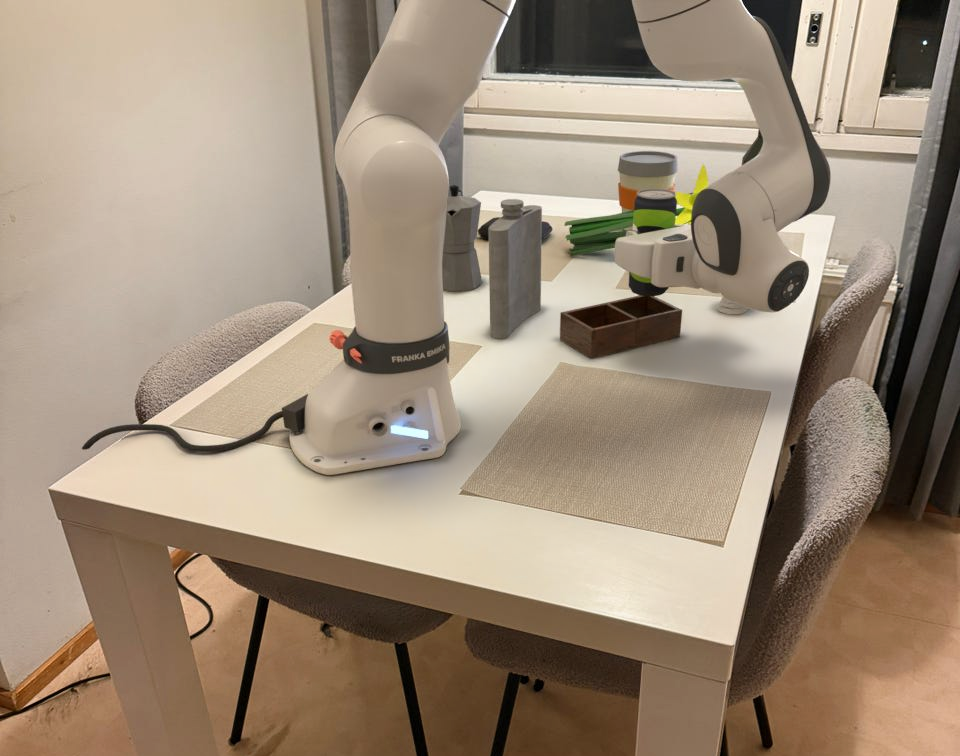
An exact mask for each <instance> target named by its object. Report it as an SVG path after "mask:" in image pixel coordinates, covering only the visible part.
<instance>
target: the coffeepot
mask: <svg viewBox="0 0 960 756" xmlns="http://www.w3.org/2000/svg"><path fill="white" fill-rule="evenodd" d="M449 191H450V195H448V198H447V210H446V225H445V236H444V245H443V256H442V281H443V292H444V291H445V292H453V293H456V292H457V293H461V292H467V291H472V290H474V289H477V288H479V287H480V286H481V284H483V279H482V274H481V268H480V263H479V258H478V252H477V250H476V247H475V241H476V240H477V239H478V229H479V223H480V217H481V216H480V215H481V208H482V207H481V206H482V202H481V201H480V200H478V198H476V197H471V196H464V195H463V192H462V190H460V186H459V185H455V184H452V185H451V186H450V185H449Z"/></svg>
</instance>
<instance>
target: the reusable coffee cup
mask: <svg viewBox="0 0 960 756" xmlns="http://www.w3.org/2000/svg"><path fill="white" fill-rule="evenodd" d="M678 162H679V161H678V156H677V155H676V154H675V153H670V152H665V151H656V150H640V151H639V150H638V151H629V152H625V153H622V154H620V156H619V160H618V165H617V166H618V167H617V172H619V173H618V174H619V182H618V184H617V187H618V202H619V207H621V213H623V212H627V211H631V210H634V201H635V199H636V197H637V192H638V191H639V190H642V189H650V188H659V189H668V190H672V191H674V192H675V188H676V184H675V178H676V174H677V173H678V170H679V169H678V167H679V166H678ZM632 229H633V226H632V227H628V228H624V229H623V231H626V230H632Z"/></svg>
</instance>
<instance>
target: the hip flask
mask: <svg viewBox="0 0 960 756" xmlns="http://www.w3.org/2000/svg"><path fill="white" fill-rule="evenodd" d="M500 208H501V215H502V216H500V217H501V218H499V219H498V220H496V221H495V222H494V223H493V224H492V225H491V226H490V227H489V228H488V234H489V239H488V284H489V285H488V286H489V288H488V289H489V336H490V337H491V338H492V339H495V340H504V339H508V338H509V337H510V336H511V334H512V333H513V332H514V331H515V329H516V328H517V327H518V326H520V325H521V323H523V322H524V321H525V320H527V319H529V318H531V316H533V315H535V314H536V313H539V312H540V311H541V307H542V306H541V304H542V296H541V295H542V241H543V240H542V221H543V206H540V205H537V204H530V205H525V204H524V200H522V199H518V198H507V199H503V200H501V201H500ZM541 240H542V241H541Z"/></svg>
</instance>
